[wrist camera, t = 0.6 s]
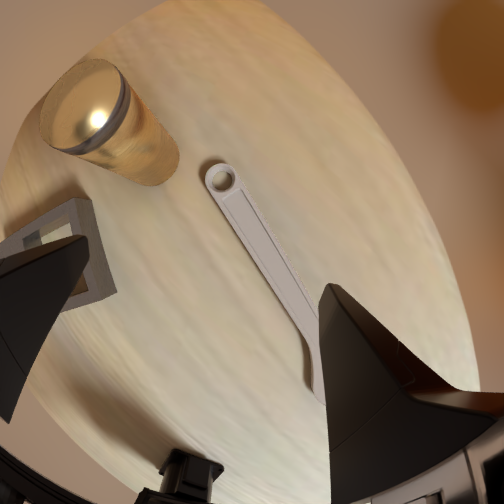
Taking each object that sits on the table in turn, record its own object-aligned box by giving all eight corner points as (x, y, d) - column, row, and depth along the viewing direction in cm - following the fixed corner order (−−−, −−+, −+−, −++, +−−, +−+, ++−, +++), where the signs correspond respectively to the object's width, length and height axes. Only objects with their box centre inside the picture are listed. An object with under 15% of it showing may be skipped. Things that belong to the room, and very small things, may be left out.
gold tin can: (162, 195, 22) (80, 162, 9) (119, 173, 21) (25, 133, 9) (190, 145, 21) (139, 66, 9) (145, 126, 21) (75, 53, 9)
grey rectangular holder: (34, 318, 22) (18, 325, 19) (14, 243, 21) (-4, 245, 18) (117, 292, 22) (101, 299, 19) (91, 200, 21) (74, 197, 18)
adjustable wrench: (200, 177, 22) (197, 173, 20) (267, 144, 22) (269, 137, 20) (321, 406, 24) (325, 415, 22) (375, 376, 24) (382, 383, 22)
